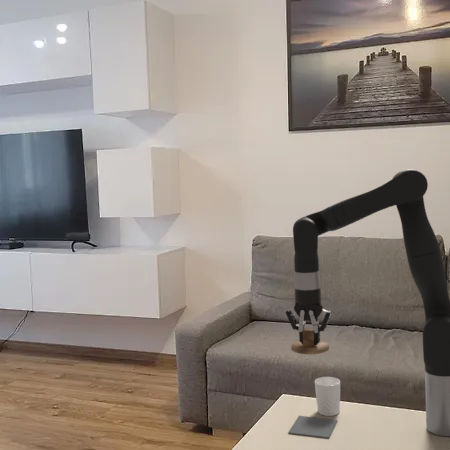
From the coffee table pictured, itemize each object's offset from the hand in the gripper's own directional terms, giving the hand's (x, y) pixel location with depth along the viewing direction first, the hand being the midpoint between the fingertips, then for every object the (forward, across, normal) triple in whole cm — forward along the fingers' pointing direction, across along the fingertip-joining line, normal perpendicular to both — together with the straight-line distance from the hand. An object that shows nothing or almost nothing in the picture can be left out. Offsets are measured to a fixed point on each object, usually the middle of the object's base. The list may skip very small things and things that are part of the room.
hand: (309, 343), depth 172 cm
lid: (+1, 0, 0) cm, 1 cm away
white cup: (+25, -2, -12) cm, 28 cm away
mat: (+25, 0, 0) cm, 25 cm away
